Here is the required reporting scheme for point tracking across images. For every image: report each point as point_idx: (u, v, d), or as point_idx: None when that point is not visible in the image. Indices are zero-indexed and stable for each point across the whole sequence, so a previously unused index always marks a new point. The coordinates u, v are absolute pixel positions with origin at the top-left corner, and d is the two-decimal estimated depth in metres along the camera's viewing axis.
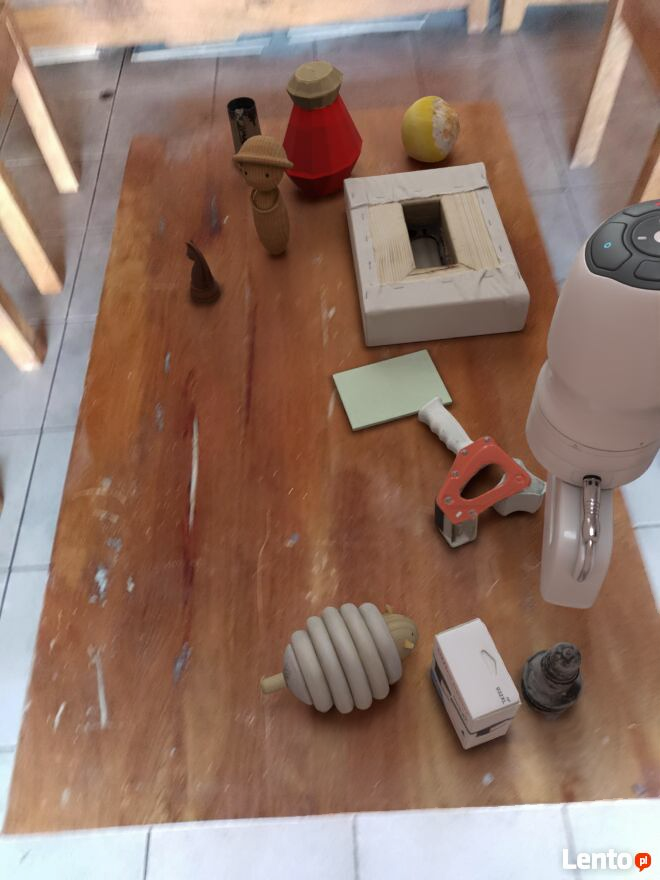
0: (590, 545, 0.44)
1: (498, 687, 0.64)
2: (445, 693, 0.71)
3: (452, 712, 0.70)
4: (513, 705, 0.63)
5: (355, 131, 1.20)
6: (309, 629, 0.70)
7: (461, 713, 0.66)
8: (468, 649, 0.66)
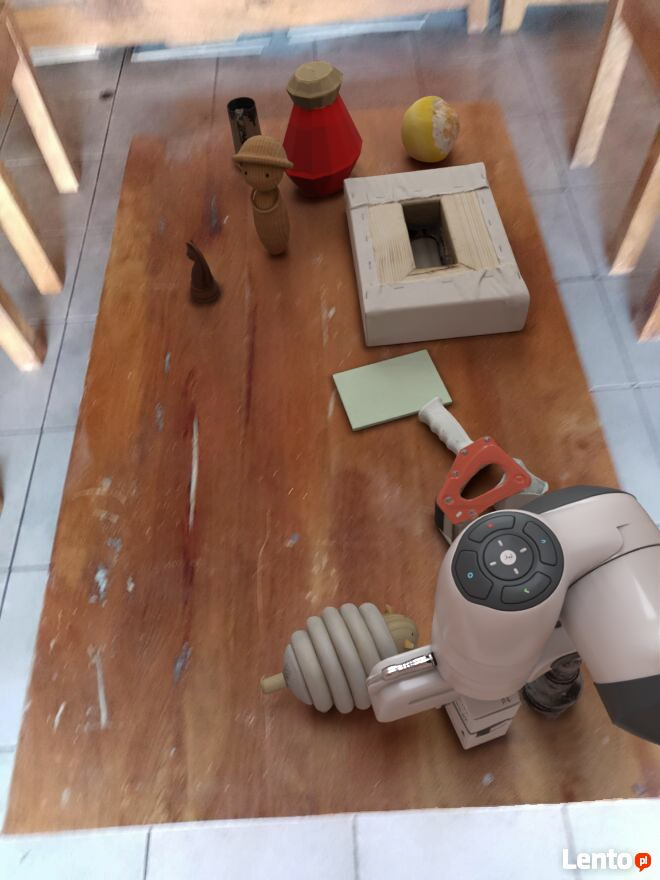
0: (378, 676, 0.59)
1: None
2: None
3: (452, 712, 0.70)
4: (513, 705, 0.63)
5: (355, 131, 1.20)
6: (309, 629, 0.70)
7: (461, 713, 0.66)
8: None
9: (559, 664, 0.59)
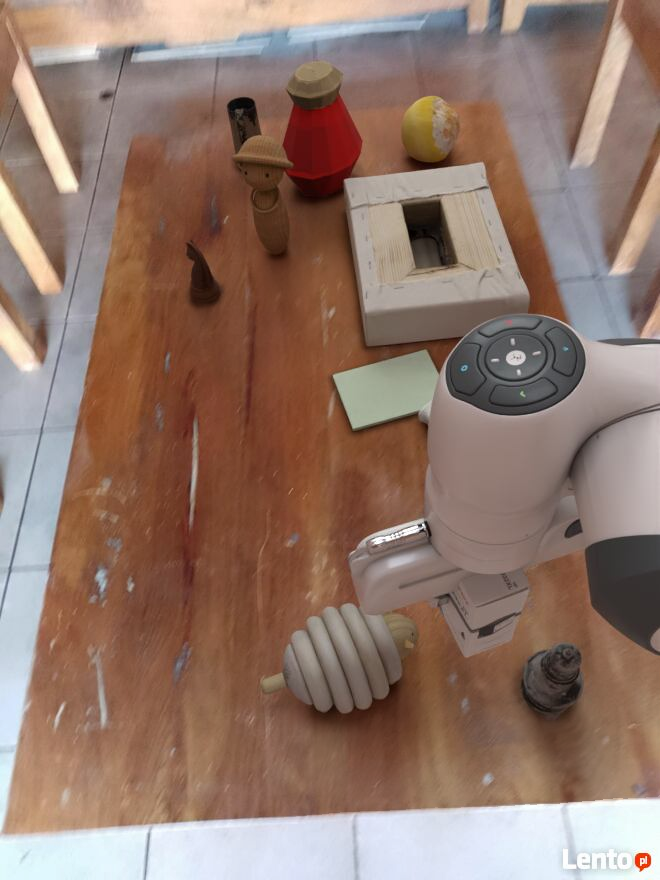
0: (362, 549, 0.50)
1: None
2: None
3: (450, 614, 0.61)
4: (521, 591, 0.54)
5: (355, 131, 1.20)
6: (309, 629, 0.70)
7: (460, 607, 0.57)
8: None
9: (575, 533, 0.50)
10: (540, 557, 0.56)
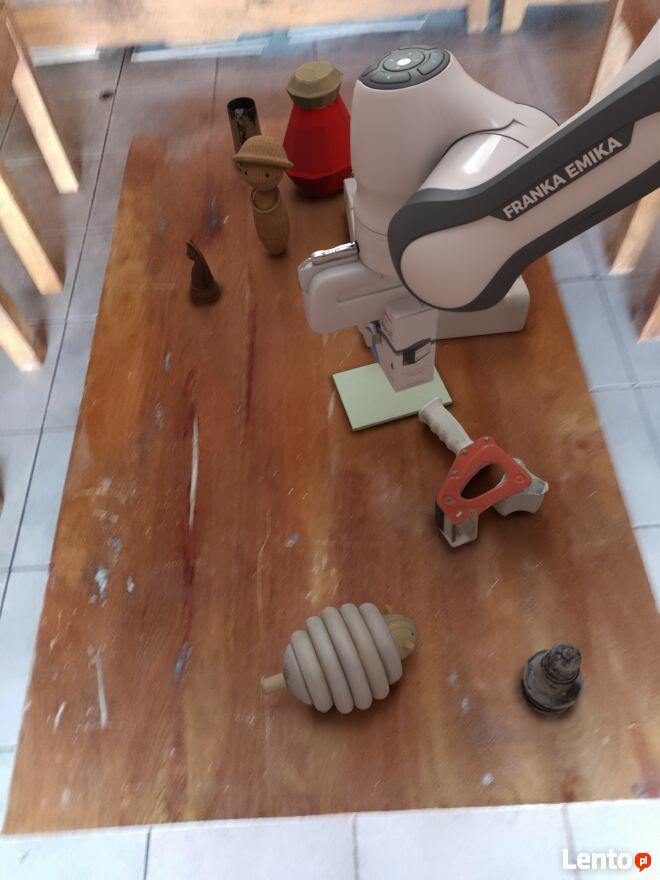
0: (307, 259, 0.66)
1: None
2: None
3: (383, 353, 0.78)
4: (431, 309, 0.70)
5: None
6: (309, 629, 0.70)
7: (388, 334, 0.74)
8: None
9: None
10: None
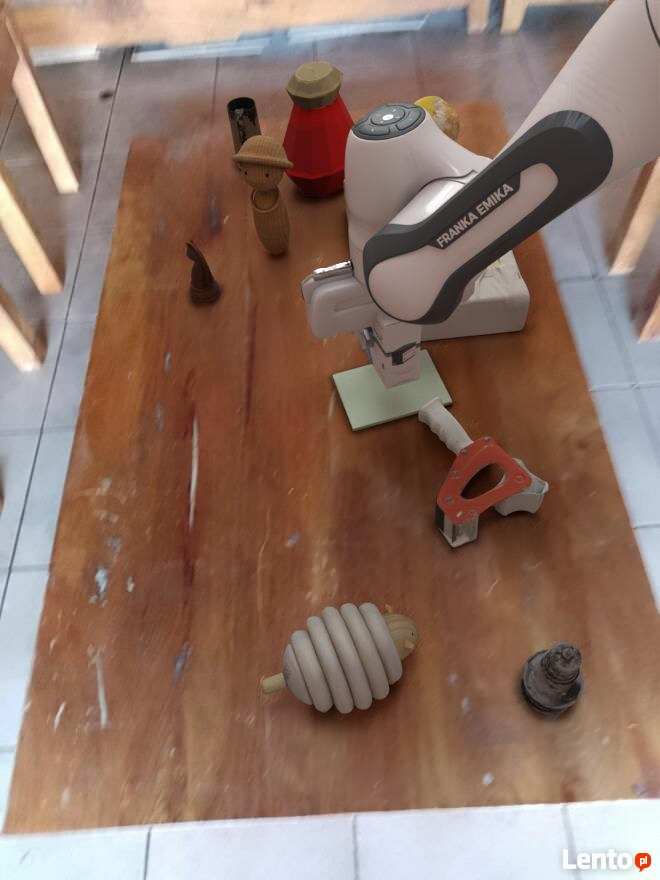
0: (309, 275, 0.79)
1: None
2: None
3: (376, 355, 0.90)
4: None
5: None
6: (309, 629, 0.70)
7: (379, 339, 0.86)
8: None
9: None
10: None
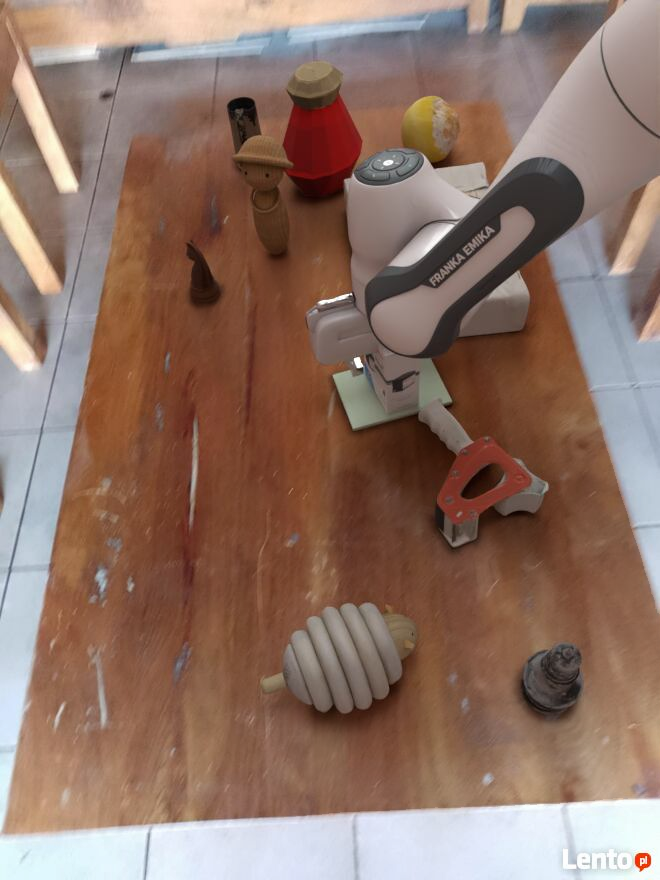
0: (313, 307, 0.82)
1: None
2: (372, 368, 0.95)
3: (377, 382, 0.94)
4: None
5: (355, 131, 1.20)
6: (309, 629, 0.70)
7: (380, 367, 0.90)
8: None
9: None
10: None
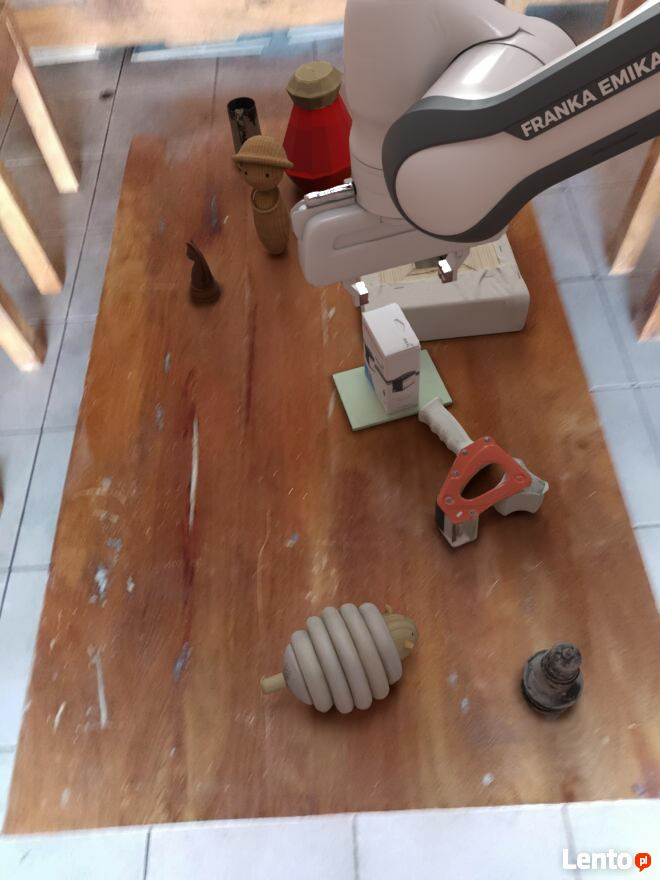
0: (300, 201, 0.62)
1: (405, 338, 0.88)
2: (372, 368, 0.95)
3: (377, 382, 0.94)
4: (415, 348, 0.87)
5: None
6: (309, 629, 0.70)
7: (380, 367, 0.90)
8: (385, 319, 0.90)
9: None
10: None
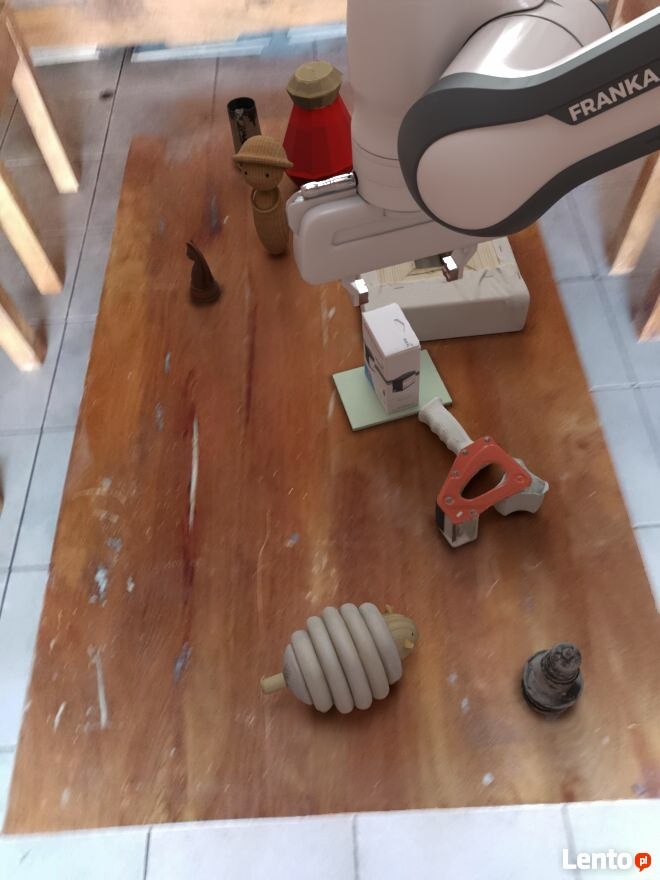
0: (297, 192, 0.57)
1: (405, 338, 0.88)
2: (372, 368, 0.95)
3: (377, 382, 0.94)
4: (415, 348, 0.87)
5: None
6: (309, 629, 0.70)
7: (380, 367, 0.90)
8: (385, 319, 0.90)
9: None
10: (461, 235, 0.63)
